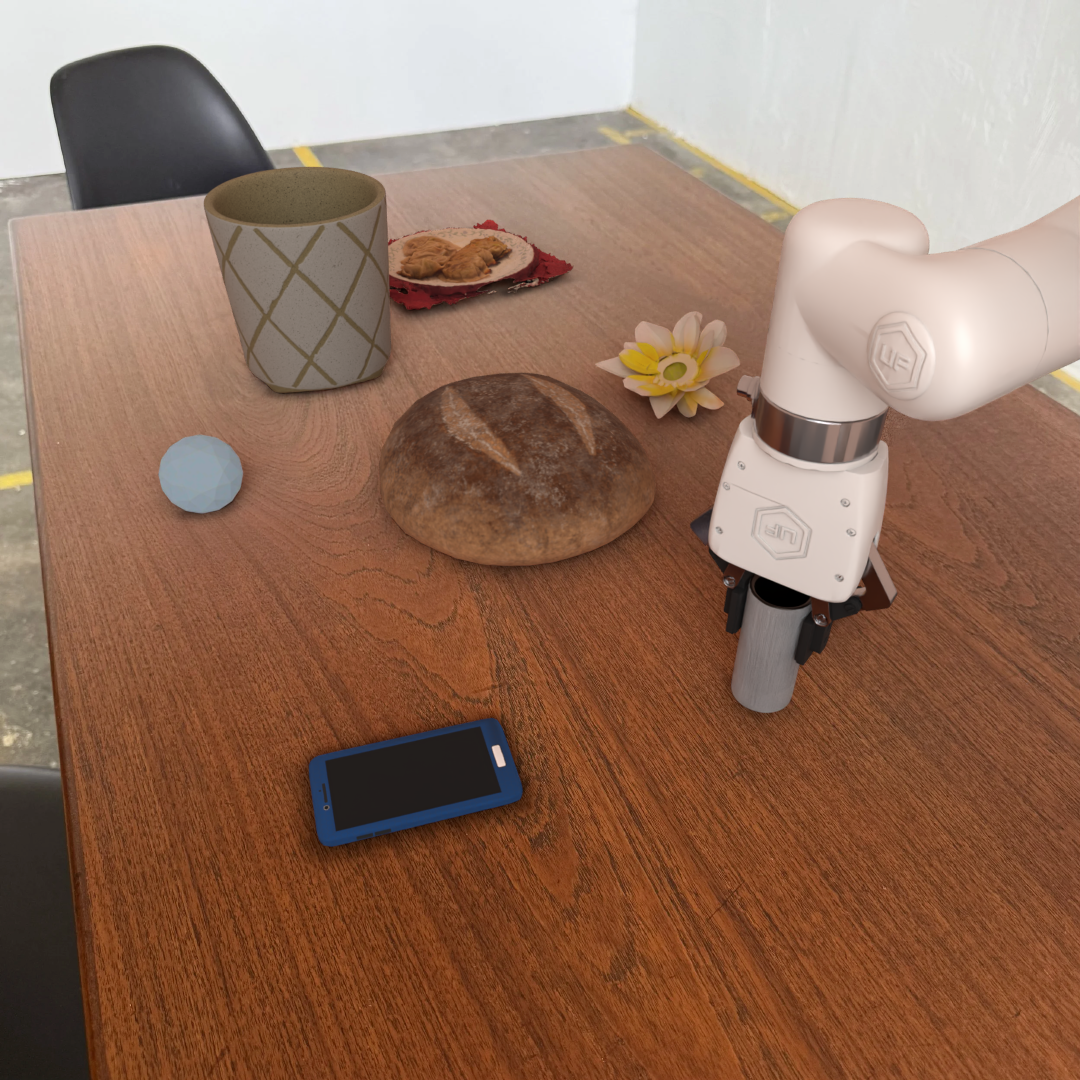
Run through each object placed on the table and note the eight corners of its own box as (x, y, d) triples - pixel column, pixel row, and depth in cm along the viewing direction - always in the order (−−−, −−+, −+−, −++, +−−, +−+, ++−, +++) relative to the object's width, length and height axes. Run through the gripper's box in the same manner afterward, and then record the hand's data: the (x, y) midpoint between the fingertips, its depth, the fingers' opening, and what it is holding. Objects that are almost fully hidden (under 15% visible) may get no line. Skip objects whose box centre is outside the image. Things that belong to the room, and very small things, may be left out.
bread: (439, 615, 81) (431, 521, 74) (348, 455, 99) (335, 370, 93) (703, 534, 89) (715, 444, 83) (573, 402, 108) (575, 320, 102)
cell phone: (526, 800, 66) (526, 793, 65) (319, 850, 63) (318, 844, 62) (498, 721, 71) (498, 714, 71) (307, 764, 68) (306, 757, 68)
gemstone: (161, 443, 95) (155, 432, 90) (243, 442, 97) (241, 431, 92) (164, 520, 94) (158, 513, 90) (246, 518, 96) (244, 510, 92)
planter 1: (417, 386, 111) (403, 214, 98) (247, 414, 106) (210, 236, 93) (382, 317, 125) (366, 159, 113) (231, 339, 120) (197, 175, 108)
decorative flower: (576, 364, 111) (600, 283, 106) (654, 364, 117) (681, 287, 111) (642, 434, 102) (673, 349, 96) (724, 431, 107) (758, 350, 102)
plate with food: (575, 280, 135) (576, 256, 133) (410, 317, 124) (408, 292, 122) (491, 229, 151) (490, 207, 149) (337, 258, 140) (335, 235, 138)
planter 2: (786, 720, 70) (811, 616, 64) (724, 704, 71) (743, 600, 65) (796, 678, 74) (820, 574, 67) (736, 663, 75) (755, 560, 68)
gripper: (664, 401, 59) (643, 619, 71) (940, 494, 52) (867, 723, 63) (720, 354, 64) (692, 566, 75) (981, 434, 56) (906, 656, 68)
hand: (772, 635), depth 69 cm, fingers closed on planter 2, 4 cm apart
